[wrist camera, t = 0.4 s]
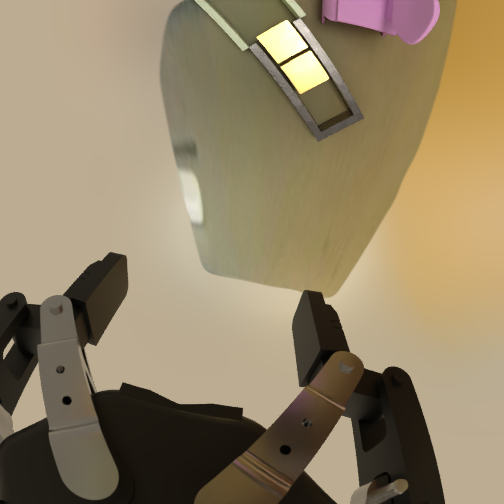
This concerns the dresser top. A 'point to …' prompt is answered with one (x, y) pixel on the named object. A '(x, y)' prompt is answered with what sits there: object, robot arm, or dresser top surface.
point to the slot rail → (354, 111)
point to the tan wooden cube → (304, 71)
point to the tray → (290, 3)
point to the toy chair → (386, 16)
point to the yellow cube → (282, 41)
